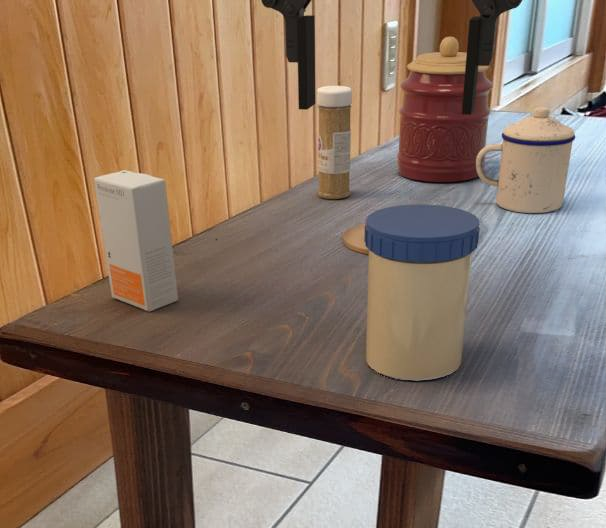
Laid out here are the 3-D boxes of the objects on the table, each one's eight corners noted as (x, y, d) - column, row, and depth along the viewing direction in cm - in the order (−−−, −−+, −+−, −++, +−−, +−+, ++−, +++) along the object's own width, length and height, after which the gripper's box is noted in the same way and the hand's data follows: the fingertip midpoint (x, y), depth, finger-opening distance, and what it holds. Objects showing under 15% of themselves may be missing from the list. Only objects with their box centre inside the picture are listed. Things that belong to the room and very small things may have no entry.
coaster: (448, 228, 106) (448, 223, 105) (437, 259, 96) (437, 254, 96) (353, 223, 108) (353, 218, 108) (333, 253, 99) (333, 248, 98)
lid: (481, 230, 72) (483, 206, 70) (472, 266, 65) (475, 240, 63) (375, 224, 73) (375, 201, 72) (355, 258, 66) (355, 234, 65)
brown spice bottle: (312, 194, 119) (310, 86, 111) (341, 189, 121) (341, 83, 113) (327, 202, 116) (326, 91, 108) (356, 197, 117) (358, 88, 109)
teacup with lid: (561, 196, 116) (576, 101, 109) (567, 215, 109) (583, 115, 102) (472, 194, 118) (481, 100, 111) (471, 213, 110) (481, 114, 104)
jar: (465, 345, 78) (478, 213, 71) (456, 385, 71) (470, 245, 64) (374, 337, 79) (378, 208, 72) (357, 376, 73) (360, 239, 66)
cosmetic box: (110, 299, 88) (91, 177, 81) (142, 287, 91) (126, 168, 84) (148, 313, 85) (131, 187, 78) (180, 301, 87) (167, 178, 80)
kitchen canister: (477, 161, 132) (490, 30, 122) (490, 183, 122) (505, 41, 111) (393, 163, 133) (399, 32, 122) (399, 184, 122) (406, 43, 112)
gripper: (587, -239, 58) (541, 104, 71) (242, -218, 64) (257, 96, 76) (587, -254, 52) (537, 122, 65) (207, -230, 58) (229, 112, 71)
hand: (385, 109), depth 71 cm, fingers open, 13 cm apart
